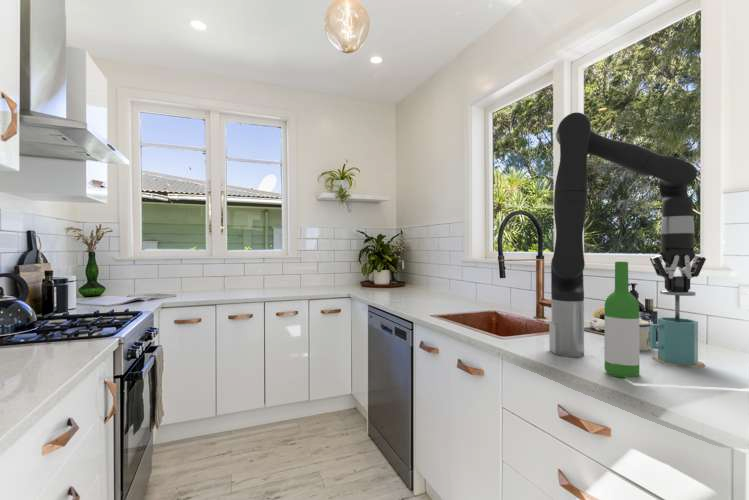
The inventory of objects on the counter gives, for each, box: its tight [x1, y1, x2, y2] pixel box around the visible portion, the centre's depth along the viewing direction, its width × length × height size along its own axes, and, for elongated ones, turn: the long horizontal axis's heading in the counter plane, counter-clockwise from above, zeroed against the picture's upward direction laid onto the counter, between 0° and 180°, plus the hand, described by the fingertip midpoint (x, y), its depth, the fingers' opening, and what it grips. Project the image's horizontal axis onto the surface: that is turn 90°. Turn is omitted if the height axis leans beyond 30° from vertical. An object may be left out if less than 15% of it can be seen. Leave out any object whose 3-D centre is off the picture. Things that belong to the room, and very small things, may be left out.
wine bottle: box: [603, 261, 641, 379], centre depth 98 cm, size 8×8×30 cm
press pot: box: [649, 316, 699, 366], centre depth 107 cm, size 11×8×12 cm
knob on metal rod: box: [659, 275, 697, 322], centre depth 107 cm, size 8×8×15 cm
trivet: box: [651, 354, 706, 369], centre depth 107 cm, size 12×12×1 cm
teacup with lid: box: [639, 317, 651, 351], centre depth 125 cm, size 12×9×12 cm
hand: (677, 291), depth 107 cm, fingers closed on knob on metal rod, 3 cm apart
